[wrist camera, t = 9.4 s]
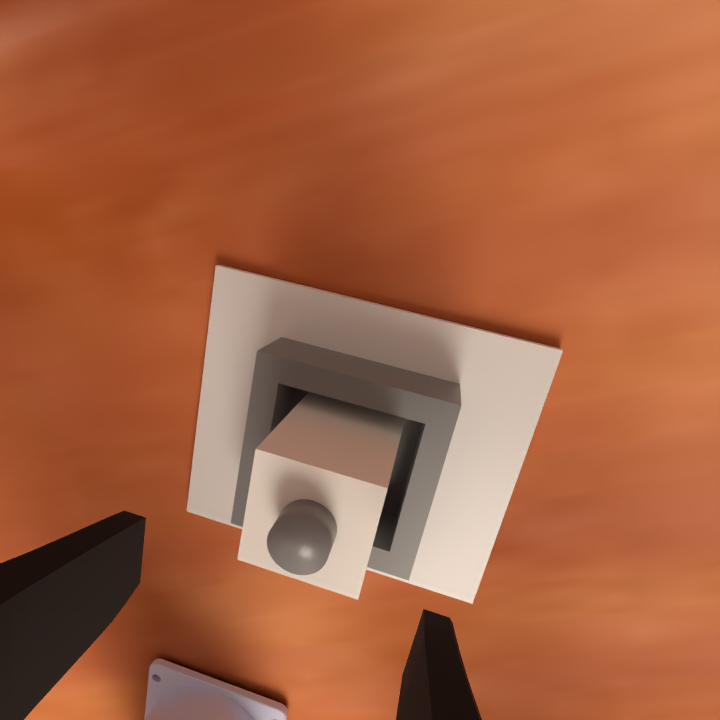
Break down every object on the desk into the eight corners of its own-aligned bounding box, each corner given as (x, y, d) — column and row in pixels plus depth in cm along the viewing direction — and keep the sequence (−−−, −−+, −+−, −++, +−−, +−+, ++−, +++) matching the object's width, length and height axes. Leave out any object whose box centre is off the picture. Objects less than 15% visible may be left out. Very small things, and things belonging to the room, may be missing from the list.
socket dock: (471, 597, 21) (475, 652, 18) (191, 506, 22) (154, 544, 20) (560, 348, 17) (581, 368, 14) (220, 264, 19) (181, 268, 16)
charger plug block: (384, 495, 20) (351, 626, 13) (297, 469, 20) (222, 581, 13) (406, 412, 18) (382, 508, 12) (314, 386, 19) (240, 464, 12)
